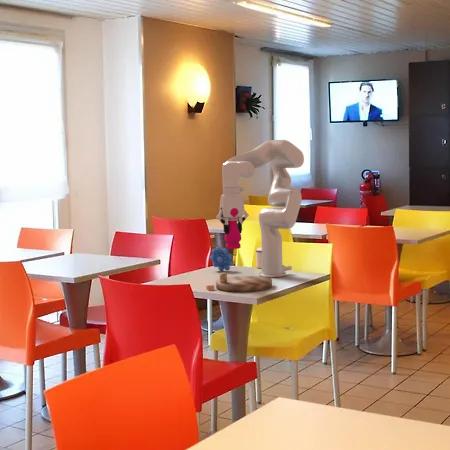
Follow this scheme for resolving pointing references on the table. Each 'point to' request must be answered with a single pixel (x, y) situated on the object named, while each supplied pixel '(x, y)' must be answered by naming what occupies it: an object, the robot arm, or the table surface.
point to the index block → (209, 287)
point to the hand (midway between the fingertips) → (232, 233)
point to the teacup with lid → (259, 257)
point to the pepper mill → (233, 231)
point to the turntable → (243, 283)
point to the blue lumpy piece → (221, 258)
